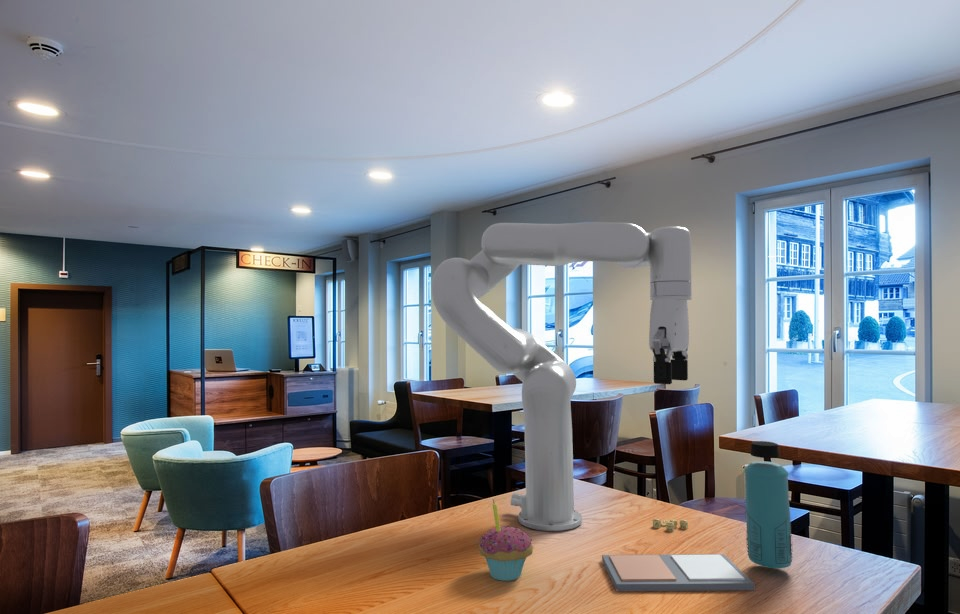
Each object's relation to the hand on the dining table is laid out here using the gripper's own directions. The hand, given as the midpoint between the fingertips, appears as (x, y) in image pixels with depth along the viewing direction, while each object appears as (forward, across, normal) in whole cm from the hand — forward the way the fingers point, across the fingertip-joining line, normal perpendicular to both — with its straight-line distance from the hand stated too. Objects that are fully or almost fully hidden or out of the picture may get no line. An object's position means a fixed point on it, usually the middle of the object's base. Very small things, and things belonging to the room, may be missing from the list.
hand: (671, 381), depth 110 cm
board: (+28, +19, +6) cm, 35 cm away
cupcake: (+29, +34, -15) cm, 47 cm away
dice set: (+29, -2, -1) cm, 29 cm away
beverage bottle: (+28, +9, +18) cm, 35 cm away
